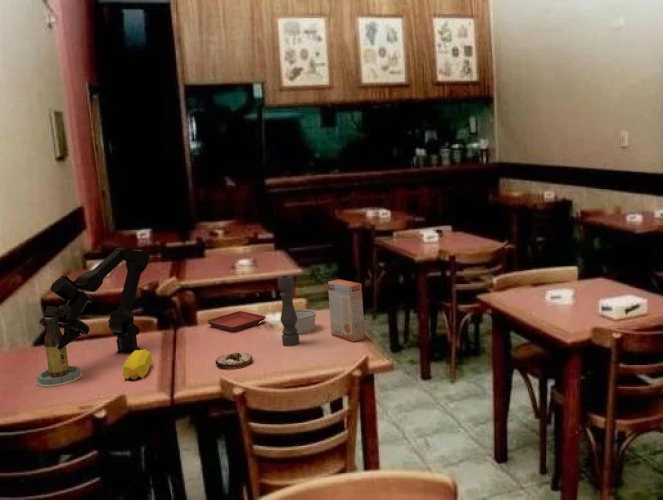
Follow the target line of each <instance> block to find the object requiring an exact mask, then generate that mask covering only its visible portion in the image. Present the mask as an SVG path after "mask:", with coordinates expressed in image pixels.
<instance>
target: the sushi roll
mask: <svg viewBox="0 0 663 500" xmlns="http://www.w3.org/2000/svg"><path fill="white" fill-rule="evenodd" d="M252 363H253V356H252V354H250V353H248V352H242V351H239V352H238V351H237V352H233V353H228V354H222V355H220V356H218V357H217V358H216V360H215V364H216V367H217V368H218V370H228V371H229V370H237V369H241V368H244V367H247V366H248V365H251V364H252Z"/></svg>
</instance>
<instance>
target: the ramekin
mask: <svg viewBox="0 0 663 500" xmlns="http://www.w3.org/2000/svg"><path fill="white" fill-rule="evenodd" d="M295 312H296V315H297V322H296V324H295V325H296V326H295V327H296V329H297V330H298V332H297V333H298V334H299V335H302V334H303V335H304V334H308V333H311V332H313V331H314V329H315V328H316V315H317V314H316V311H315V310H313V309H307V308H306V309H305V308H298V309H295Z"/></svg>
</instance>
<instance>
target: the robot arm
mask: <svg viewBox="0 0 663 500" xmlns="http://www.w3.org/2000/svg"><path fill="white" fill-rule="evenodd" d="M150 257H151V256H150V255H149V252H148V251H147V250H146V249H145V250H144V249H129V248H126V247H116V248H115V249H114V250H113V251H112V252H111V253H110V254H109V255H108V256H107V257H106V258H104V260H102V261H101V262H100V263H99V264H98V265H97V266H95V267H94V268H92V269H90V270H89V271H85V272H84V273H81V274H80V275H78V276H77V277H76V278H75V280H72V279H70V277H68V276H67V275H61V277H60V278H58V279H56V280H55V281H54V282H53V283H52V284H51V286H50V292H52V293H53V294H55V295H56V296H57V297H59V298H61V300H63V301H67V302H66V304H60V305H59V306H51V305H47V306H46V310H45V313H44V317H41V319H40V321H39V323H38V324H40V325H41V326H42V327H44V328H45V331H46V333H45V335H46V334H47V332H48V331H47V324H46V321H45V318H47V317H51V316H55V317H57V316H58V319H59V321H58V322H59V328H60V329H63V333H62V334H63V336H62V339H61V341H60V343H59V345H58V348H57V349H59V350H61V349H62V348H64V347H65V346H66V347H67V345H70V343H71V342H74V340H76V339H77V338H79V337H82V335H84V336H88V335H89V332H90V329H91V328H90V326H89V325H88V324H87V323H85V322H83V321H82V320H80V318H83V317H84V313H82V312H83V311H84V309H85V307H86V305H87V304H88V303H90V304H91V303H95V302H94V301H95V300H94V299H93V295H92V294H88V293H95V292H97V291H98V290H99V289H100V288H101V286H102V285H103V284H104V280H105V278H106V277H107V276H108V275H110V273H111V272H112V271H113V270H114V269H116V268H117V267H118V266H119V265H120V264H121V263H122V262H125V266H126V267H125V268H126V270H127V273H126V275H125V276H126V277H125V281H124V284H123V288H122V292H121V297H120V300H119V303H118V307H117V309H116V310H115V311H113V310H112V311H111V312H110V315H109V319H108V321H107V322H108V328H109V330H110V331H111V332H112V335H113V336H114V337H115V336H116V338H117V339H116V345H117V350H116V354H132V353H133V352H134V351H135V350H139V349H141V346H138V339H137V335H139V334H140V330H141V329H140V327H138V326H137V325H136V324H135V321H134V320H135V317H134V314H133V307H134V303H135V299H136V296H137V295H136V294H137V292H138V291H137V290H138V287H139V282H140V280H141V279H140V278H141V275H142V274H143V272H144V271H145V270H146V269H147V267H148V265H149V262H150ZM86 292H88V293H86ZM45 346H46V345H45V344H44V348H45Z"/></svg>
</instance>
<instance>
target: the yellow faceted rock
mask: <svg viewBox="0 0 663 500" xmlns="http://www.w3.org/2000/svg"><path fill="white" fill-rule="evenodd" d="M153 362H154V360H153V357H152V354H151V352H150V351H149V350H147V349H145V348H143V349H140V350H139V349H138V350H135V351H134V352H133V353H130V355H129V356H128V357H127V358H126V361H125V362H124V365H123V370H122V376H123V377H124V378H125V379H127V380H130V379H132V380H136V379H138V378H139V377H140V378H142V379H143V378H144V377H145V376H146V375H147V374H148V371H149V369H150V366H151V364H152V363H153Z"/></svg>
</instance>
